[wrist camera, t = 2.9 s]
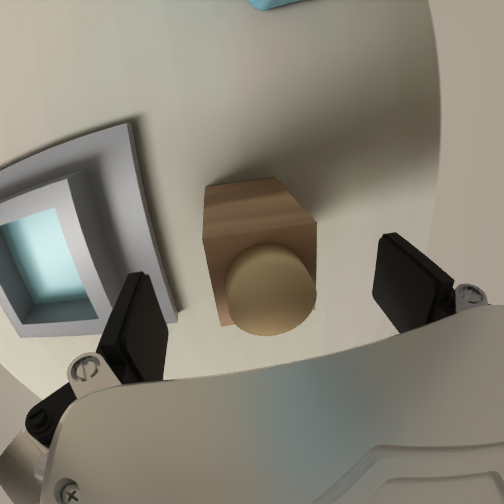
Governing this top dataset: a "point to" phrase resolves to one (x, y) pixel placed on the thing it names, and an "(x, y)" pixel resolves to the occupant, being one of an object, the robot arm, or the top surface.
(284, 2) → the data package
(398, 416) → the robot arm
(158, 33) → the top surface
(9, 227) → the frame
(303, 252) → the wooden block with knob
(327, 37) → the top surface
